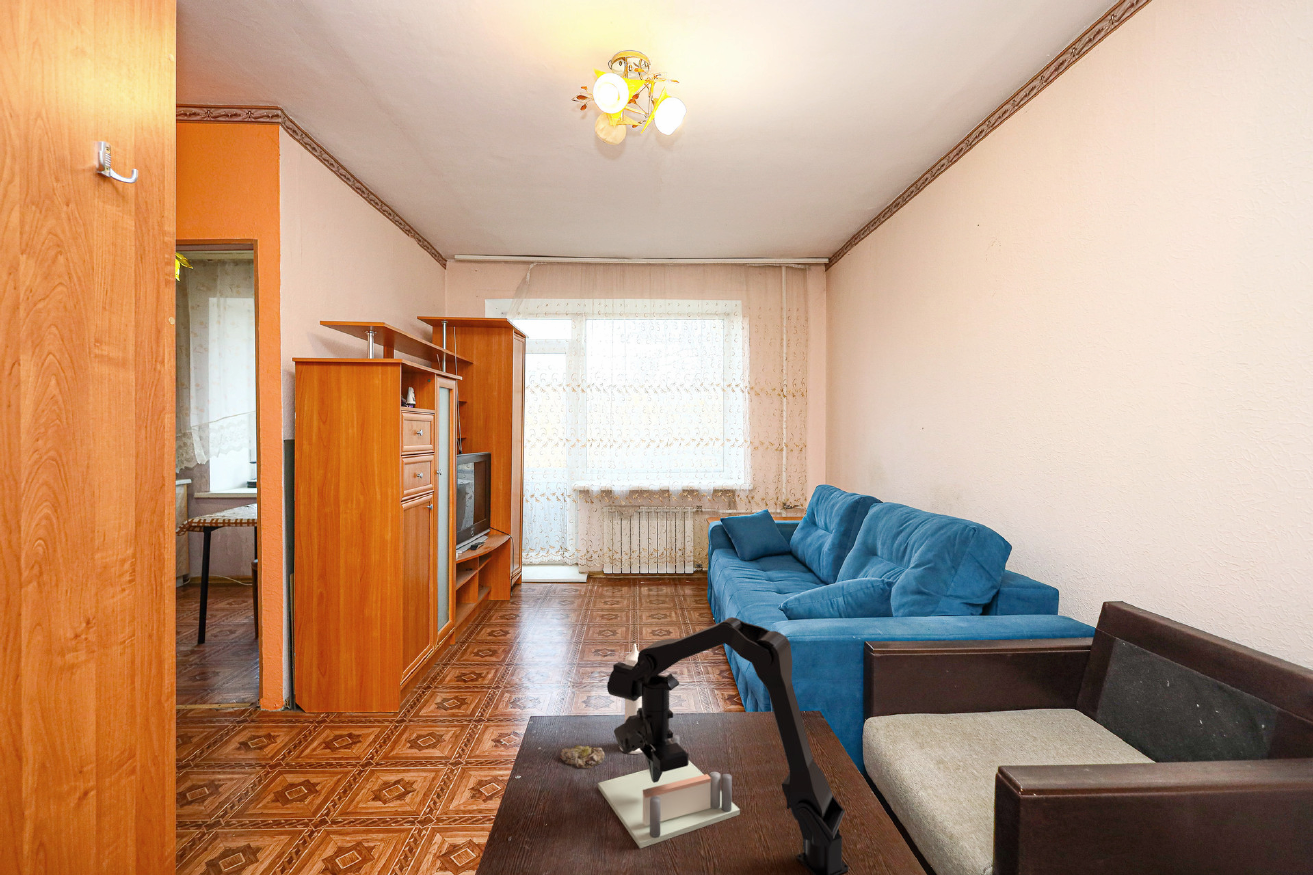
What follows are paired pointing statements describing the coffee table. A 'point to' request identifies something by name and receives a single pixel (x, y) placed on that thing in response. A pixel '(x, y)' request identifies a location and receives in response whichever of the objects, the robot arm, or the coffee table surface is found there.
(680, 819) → the gate base
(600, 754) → the mineral rock
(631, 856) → the coffee table surface
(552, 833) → the coffee table surface
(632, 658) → the candle
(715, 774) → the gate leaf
